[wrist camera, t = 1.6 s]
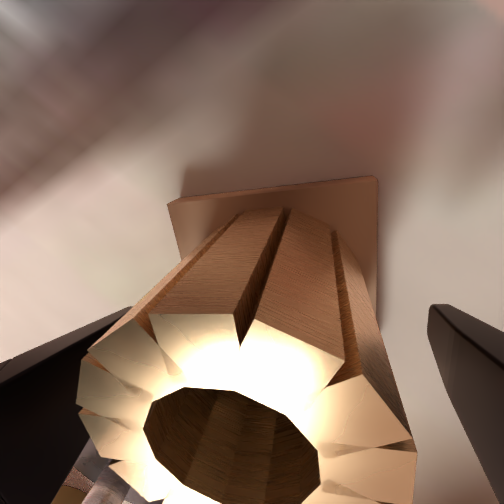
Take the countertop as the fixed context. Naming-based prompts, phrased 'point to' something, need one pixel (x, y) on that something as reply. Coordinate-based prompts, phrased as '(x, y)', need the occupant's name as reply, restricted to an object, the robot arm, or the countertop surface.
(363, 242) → the stand
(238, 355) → the tan hollow faceted cylinder
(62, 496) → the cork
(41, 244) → the countertop surface
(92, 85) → the countertop surface
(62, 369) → the robot arm
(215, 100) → the countertop surface
